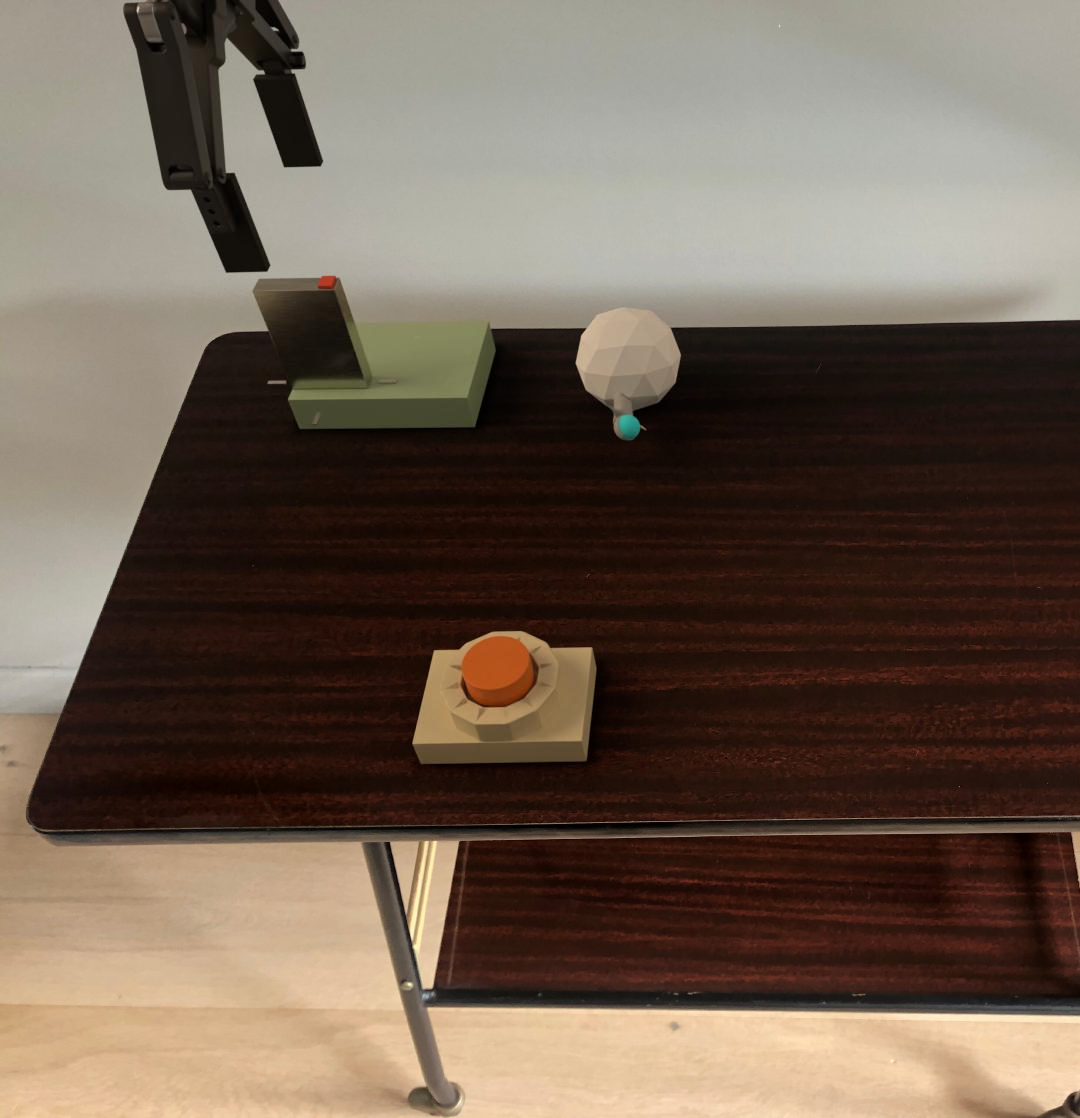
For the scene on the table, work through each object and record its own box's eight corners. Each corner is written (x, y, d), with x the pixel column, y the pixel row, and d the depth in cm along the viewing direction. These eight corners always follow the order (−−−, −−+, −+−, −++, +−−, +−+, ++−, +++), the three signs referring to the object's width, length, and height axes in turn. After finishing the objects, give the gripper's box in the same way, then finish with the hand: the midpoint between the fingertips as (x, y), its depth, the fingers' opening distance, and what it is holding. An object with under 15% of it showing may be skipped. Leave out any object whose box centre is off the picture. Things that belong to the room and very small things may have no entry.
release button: (462, 707, 66) (455, 690, 65) (473, 654, 69) (467, 636, 68) (529, 706, 66) (524, 689, 65) (538, 652, 69) (533, 634, 68)
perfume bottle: (697, 324, 92) (708, 435, 85) (621, 373, 95) (625, 483, 88) (632, 266, 86) (639, 379, 79) (554, 321, 90) (554, 433, 83)
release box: (420, 764, 68) (404, 726, 65) (441, 671, 73) (427, 631, 70) (586, 761, 68) (577, 723, 65) (596, 668, 73) (588, 628, 70)
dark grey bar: (291, 389, 88) (250, 288, 81) (297, 376, 89) (257, 275, 83) (367, 388, 88) (333, 286, 81) (372, 375, 89) (338, 274, 82)
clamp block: (261, 455, 88) (247, 424, 85) (308, 352, 96) (296, 322, 94) (467, 453, 87) (459, 422, 85) (495, 350, 96) (488, 319, 94)
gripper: (134, -52, 54) (281, 319, 70) (280, -199, 71) (372, 126, 86) (-21, -47, 54) (160, 322, 70) (161, -195, 71) (274, 129, 87)
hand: (277, 214), depth 78 cm, fingers open, 13 cm apart
